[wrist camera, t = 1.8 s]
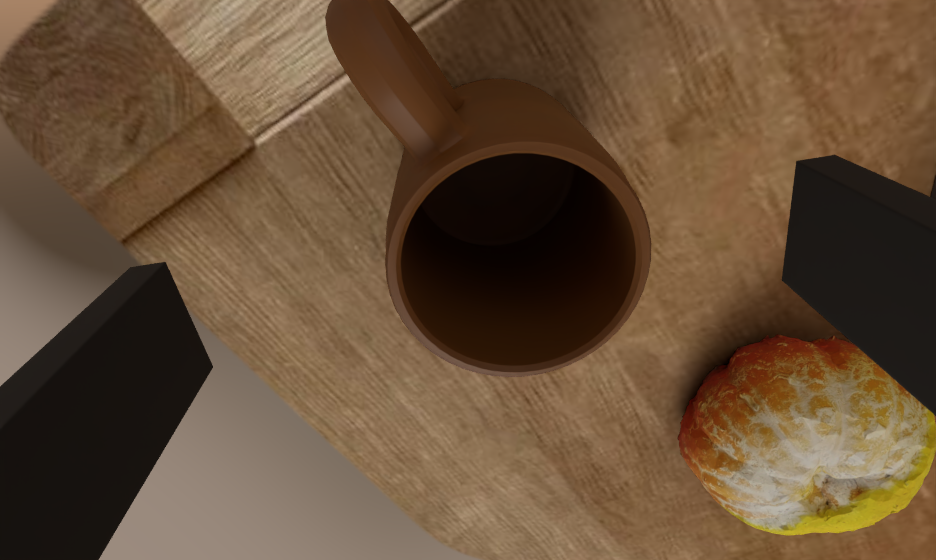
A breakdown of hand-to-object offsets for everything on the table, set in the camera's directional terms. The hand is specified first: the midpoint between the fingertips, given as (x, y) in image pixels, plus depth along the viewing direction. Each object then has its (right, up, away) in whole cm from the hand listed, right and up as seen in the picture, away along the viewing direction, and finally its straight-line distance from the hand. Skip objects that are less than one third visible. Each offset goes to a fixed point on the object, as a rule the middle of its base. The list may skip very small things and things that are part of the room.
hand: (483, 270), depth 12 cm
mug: (-1, +6, +11) cm, 13 cm away
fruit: (+16, -6, +18) cm, 25 cm away
